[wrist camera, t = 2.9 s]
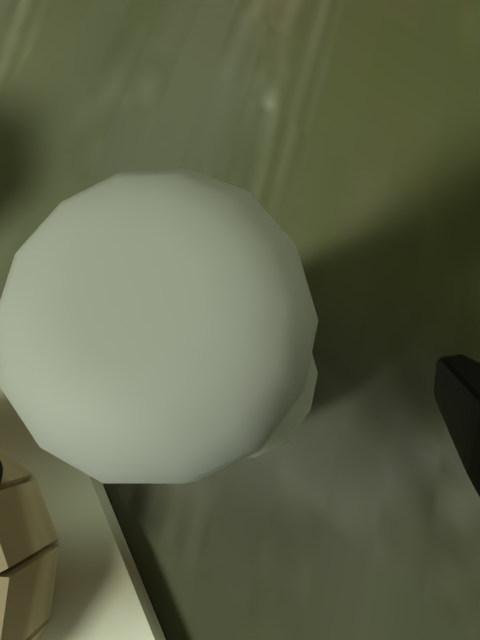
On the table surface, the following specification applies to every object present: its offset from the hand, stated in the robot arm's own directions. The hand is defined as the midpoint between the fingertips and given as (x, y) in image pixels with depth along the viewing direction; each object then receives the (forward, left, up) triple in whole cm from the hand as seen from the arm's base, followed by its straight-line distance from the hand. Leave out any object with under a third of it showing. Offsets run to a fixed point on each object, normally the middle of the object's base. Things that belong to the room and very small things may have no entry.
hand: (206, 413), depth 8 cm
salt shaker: (+1, 0, -9) cm, 9 cm away
